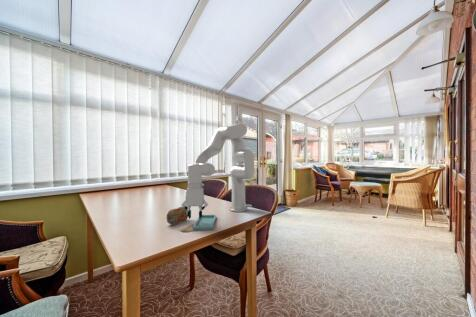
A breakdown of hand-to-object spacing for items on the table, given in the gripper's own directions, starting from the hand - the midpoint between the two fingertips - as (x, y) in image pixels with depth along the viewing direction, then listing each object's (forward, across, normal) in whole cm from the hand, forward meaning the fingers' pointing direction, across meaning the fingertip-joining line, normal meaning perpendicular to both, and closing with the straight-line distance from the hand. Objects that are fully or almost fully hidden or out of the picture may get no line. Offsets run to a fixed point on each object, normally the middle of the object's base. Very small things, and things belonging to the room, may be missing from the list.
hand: (194, 217), depth 115 cm
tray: (+3, -6, 0) cm, 7 cm away
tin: (+4, +10, -2) cm, 11 cm away
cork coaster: (+3, +2, +9) cm, 10 cm away
